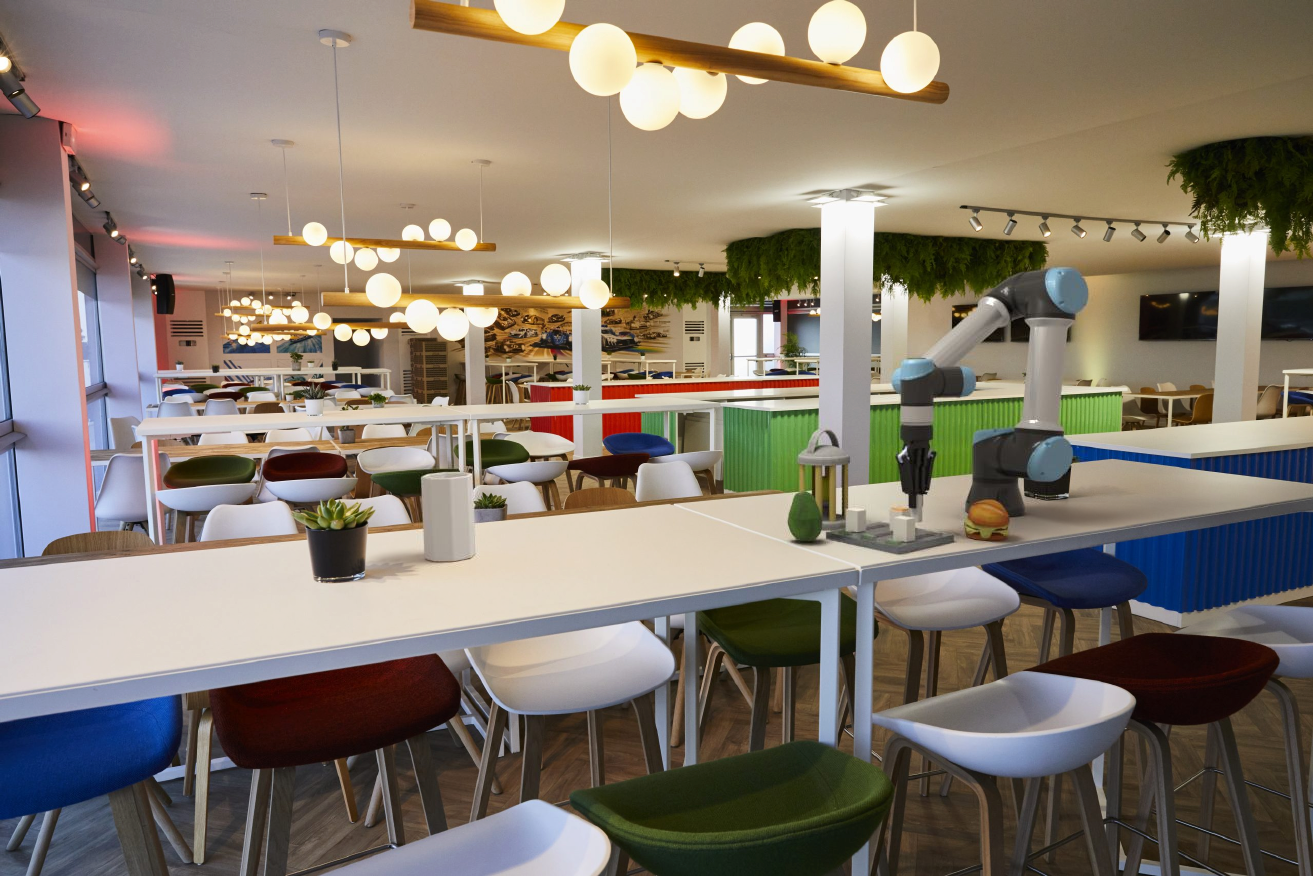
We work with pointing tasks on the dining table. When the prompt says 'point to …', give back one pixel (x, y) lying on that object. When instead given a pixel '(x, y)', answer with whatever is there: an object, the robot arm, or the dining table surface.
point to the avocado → (805, 517)
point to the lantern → (826, 478)
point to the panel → (889, 538)
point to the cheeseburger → (987, 521)
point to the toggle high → (904, 528)
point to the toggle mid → (898, 514)
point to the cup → (448, 516)
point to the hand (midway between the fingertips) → (915, 521)
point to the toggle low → (856, 519)
